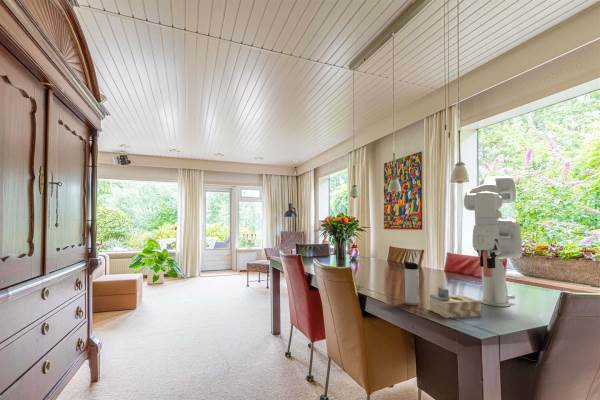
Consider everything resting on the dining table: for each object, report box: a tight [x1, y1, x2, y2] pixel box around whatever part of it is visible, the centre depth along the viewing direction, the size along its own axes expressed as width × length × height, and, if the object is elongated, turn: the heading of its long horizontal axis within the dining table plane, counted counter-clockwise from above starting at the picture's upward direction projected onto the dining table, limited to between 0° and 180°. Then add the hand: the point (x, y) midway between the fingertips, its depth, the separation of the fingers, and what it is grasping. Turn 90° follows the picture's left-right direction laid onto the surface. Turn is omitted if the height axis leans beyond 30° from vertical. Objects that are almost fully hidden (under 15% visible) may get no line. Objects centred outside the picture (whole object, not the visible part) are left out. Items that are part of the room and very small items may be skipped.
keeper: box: [429, 287, 450, 301], centre depth 128 cm, size 5×6×4 cm
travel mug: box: [403, 261, 420, 306], centre depth 143 cm, size 6×7×20 cm
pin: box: [483, 249, 493, 277], centre depth 120 cm, size 5×5×12 cm
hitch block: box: [429, 294, 482, 319], centre depth 128 cm, size 16×11×6 cm
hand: (487, 266), depth 120 cm, fingers closed on pin, 3 cm apart
